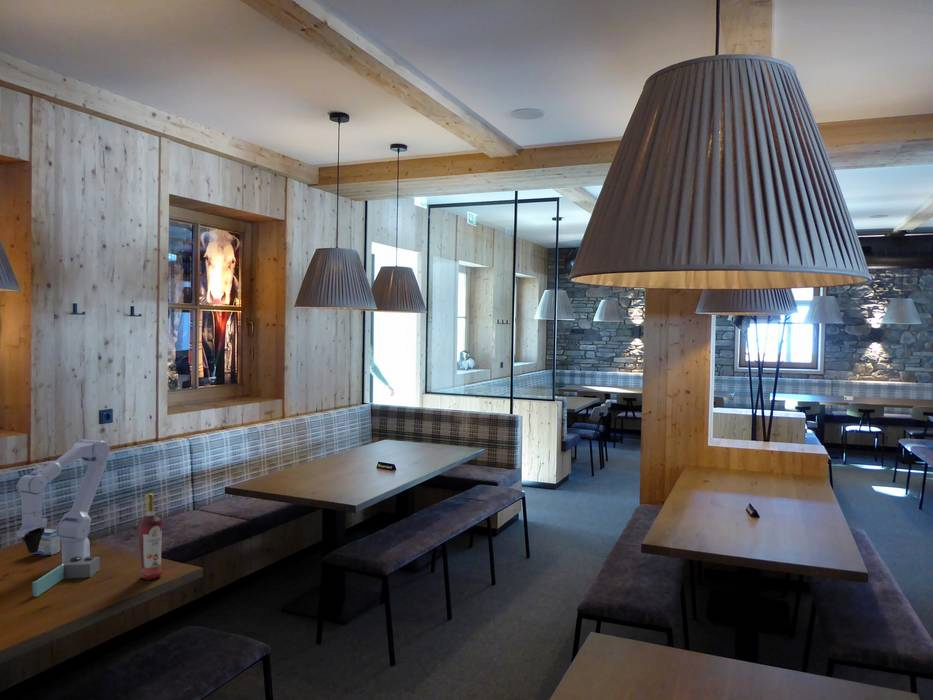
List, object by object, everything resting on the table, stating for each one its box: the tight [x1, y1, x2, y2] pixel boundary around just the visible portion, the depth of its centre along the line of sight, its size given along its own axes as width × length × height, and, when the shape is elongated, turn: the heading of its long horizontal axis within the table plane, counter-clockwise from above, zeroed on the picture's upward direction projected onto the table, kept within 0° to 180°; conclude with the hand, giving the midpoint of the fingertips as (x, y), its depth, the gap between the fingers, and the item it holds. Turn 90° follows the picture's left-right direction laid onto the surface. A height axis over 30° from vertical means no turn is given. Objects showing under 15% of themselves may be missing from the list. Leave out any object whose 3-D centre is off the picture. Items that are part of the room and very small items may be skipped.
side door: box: [31, 563, 66, 598], centre depth 218 cm, size 16×2×5 cm, turn 2°
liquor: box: [137, 493, 163, 580], centre depth 226 cm, size 7×7×28 cm
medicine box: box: [32, 528, 61, 556], centre depth 251 cm, size 8×4×9 cm, turn 80°
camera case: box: [64, 555, 101, 579], centre depth 230 cm, size 7×9×5 cm
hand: (33, 552), depth 224 cm, fingers closed
